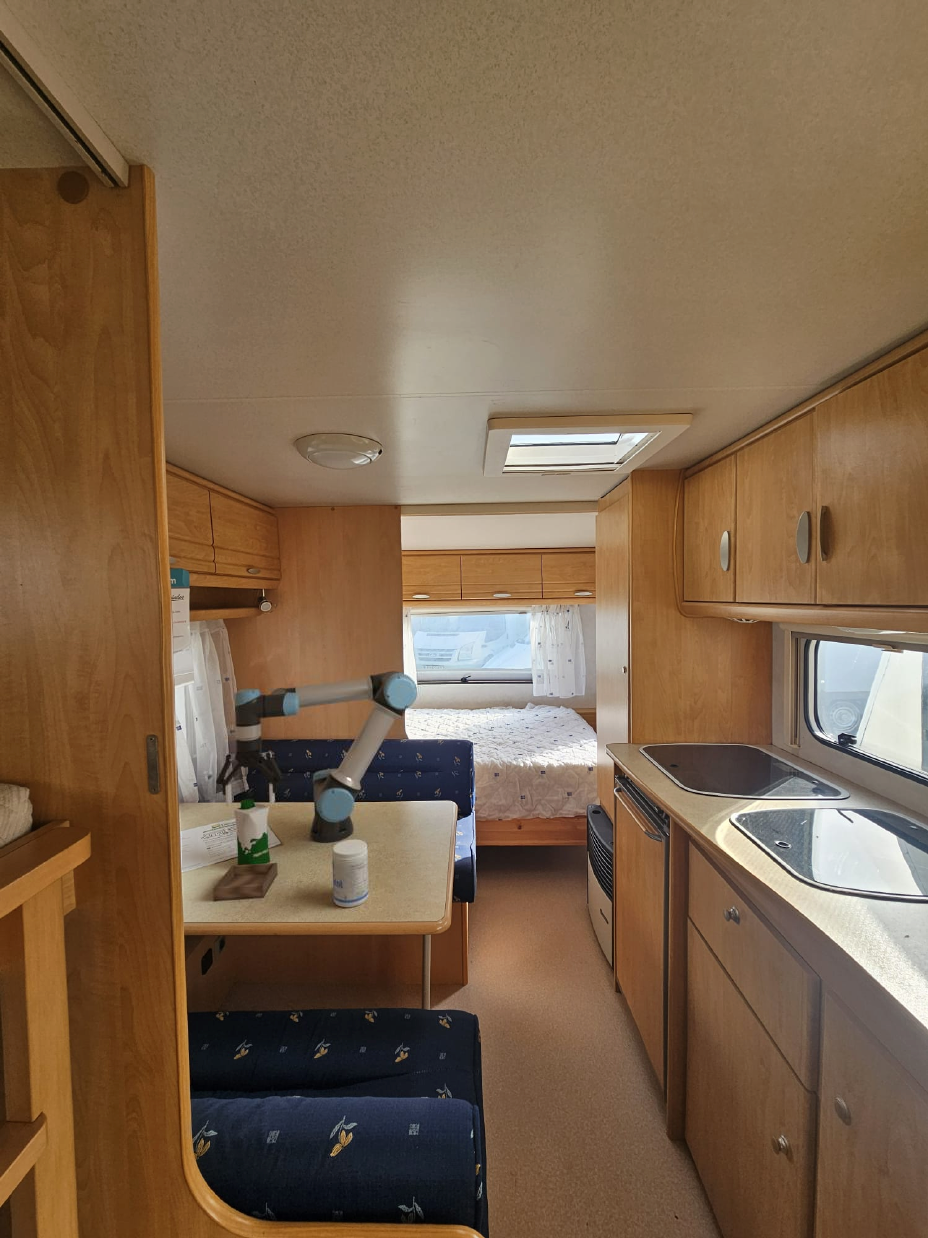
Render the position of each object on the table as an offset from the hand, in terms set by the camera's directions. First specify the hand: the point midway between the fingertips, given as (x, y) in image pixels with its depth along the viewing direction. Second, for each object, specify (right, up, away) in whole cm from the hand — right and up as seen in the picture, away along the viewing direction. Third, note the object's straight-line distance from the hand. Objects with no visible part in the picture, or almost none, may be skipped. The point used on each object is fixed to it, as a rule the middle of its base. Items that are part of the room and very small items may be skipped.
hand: (250, 804), depth 167 cm
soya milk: (+1, -20, 0) cm, 20 cm away
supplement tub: (+37, -18, -24) cm, 48 cm away
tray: (+5, -19, -15) cm, 25 cm away
